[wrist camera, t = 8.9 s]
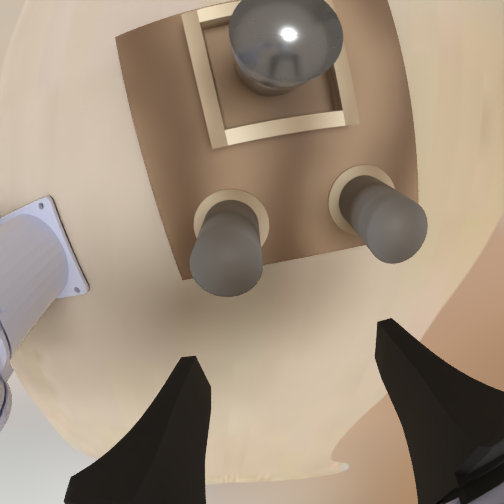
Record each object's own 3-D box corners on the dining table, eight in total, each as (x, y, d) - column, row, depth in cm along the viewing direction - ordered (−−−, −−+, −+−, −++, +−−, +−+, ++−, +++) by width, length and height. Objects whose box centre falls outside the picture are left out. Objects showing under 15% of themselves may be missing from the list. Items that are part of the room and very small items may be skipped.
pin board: (185, 272, 20) (165, 330, 15) (121, 40, 13) (71, 17, 8) (411, 228, 19) (457, 270, 13) (379, -2, 12) (425, -33, 7)
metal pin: (244, 102, 14) (242, 91, 8) (229, 42, 13) (217, -5, 7) (309, 90, 14) (354, 76, 8) (295, 31, 13) (327, -18, 6)
